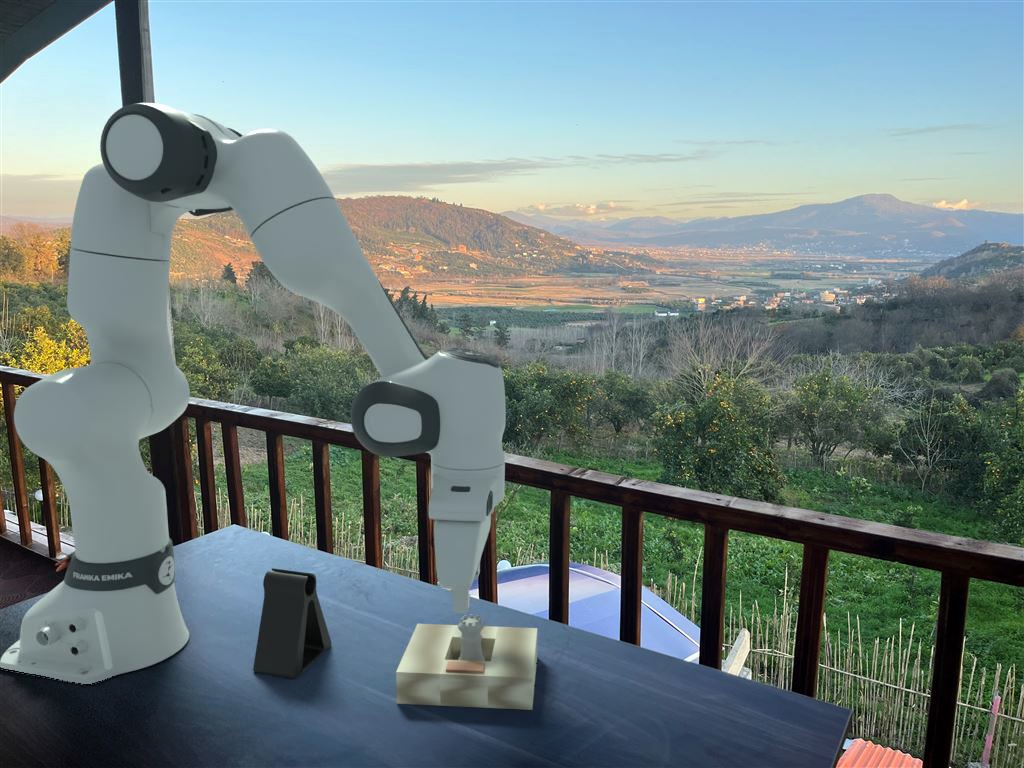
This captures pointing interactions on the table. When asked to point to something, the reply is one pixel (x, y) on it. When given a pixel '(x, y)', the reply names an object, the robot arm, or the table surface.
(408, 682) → the socket block
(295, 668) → the phone stand
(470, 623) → the rook chess piece
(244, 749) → the table surface
